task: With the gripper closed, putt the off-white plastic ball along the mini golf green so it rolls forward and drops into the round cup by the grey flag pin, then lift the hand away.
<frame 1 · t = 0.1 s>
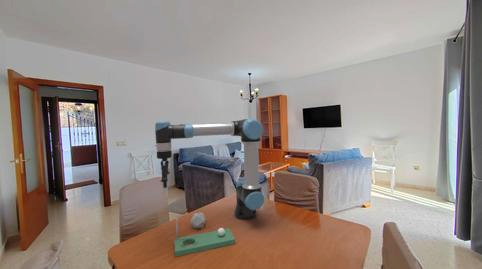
hand: (166, 189, 113), 28 cm above the table, fingers open, 13 cm apart
mini golf green: (204, 243, 110), on the table
ball: (221, 231, 112), point 4 cm above the table, touching mini golf green
die: (198, 227, 128), on the table
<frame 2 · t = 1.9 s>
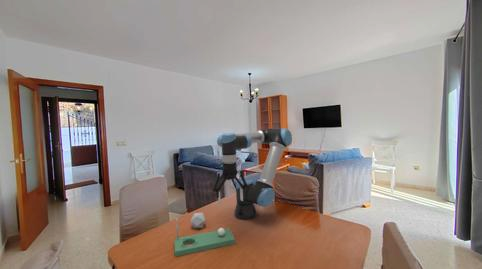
hand: (230, 201, 113), 20 cm above the table, fingers open, 12 cm apart
nothing on the table moved.
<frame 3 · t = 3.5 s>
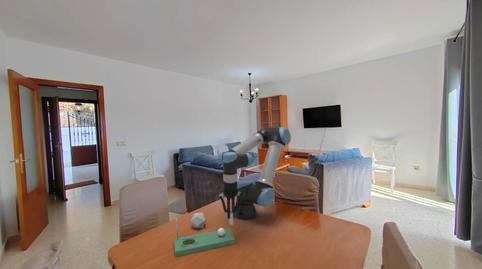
hand: (231, 223, 114), 8 cm above the table, fingers closed
nothing on the table moved.
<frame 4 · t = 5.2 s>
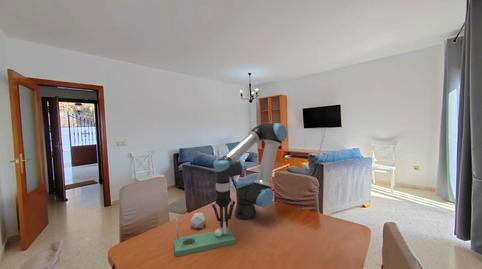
hand: (224, 232, 113), 4 cm above the table, fingers closed
ball: (218, 232, 112), point 4 cm above the table, tilted 34°, touching mini golf green
everything else where it was.
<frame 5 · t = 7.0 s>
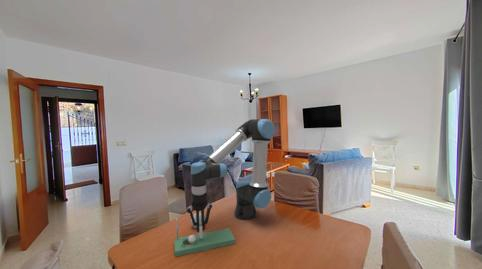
hand: (200, 237, 109), 4 cm above the table, fingers closed
ball: (192, 239, 107), point 4 cm above the table, tilted 84°
everything else where it was.
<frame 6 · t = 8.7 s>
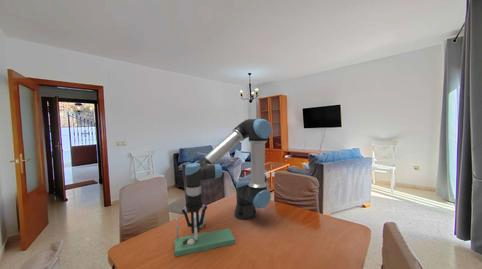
hand: (195, 238, 108), 4 cm above the table, fingers closed
ball: (191, 242, 107), point 2 cm above the table, tilted 123°
everything else where it was.
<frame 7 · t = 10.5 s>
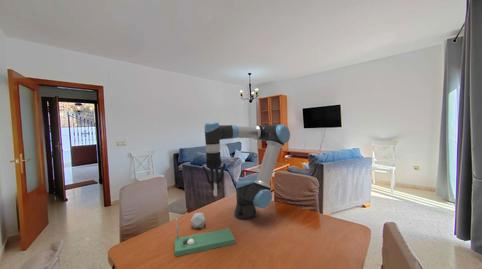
hand: (215, 195, 112), 24 cm above the table, fingers closed
nothing on the table moved.
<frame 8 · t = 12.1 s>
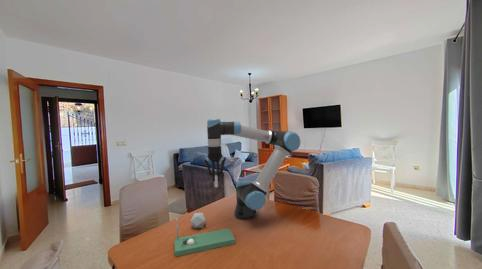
hand: (216, 186, 120), 26 cm above the table, fingers closed
nothing on the table moved.
at the end: ball 0.9 cm from the target spot in the mini golf green, point 2.0 cm above the mini golf green's base; ball touching table; the gripper is holding nothing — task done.
